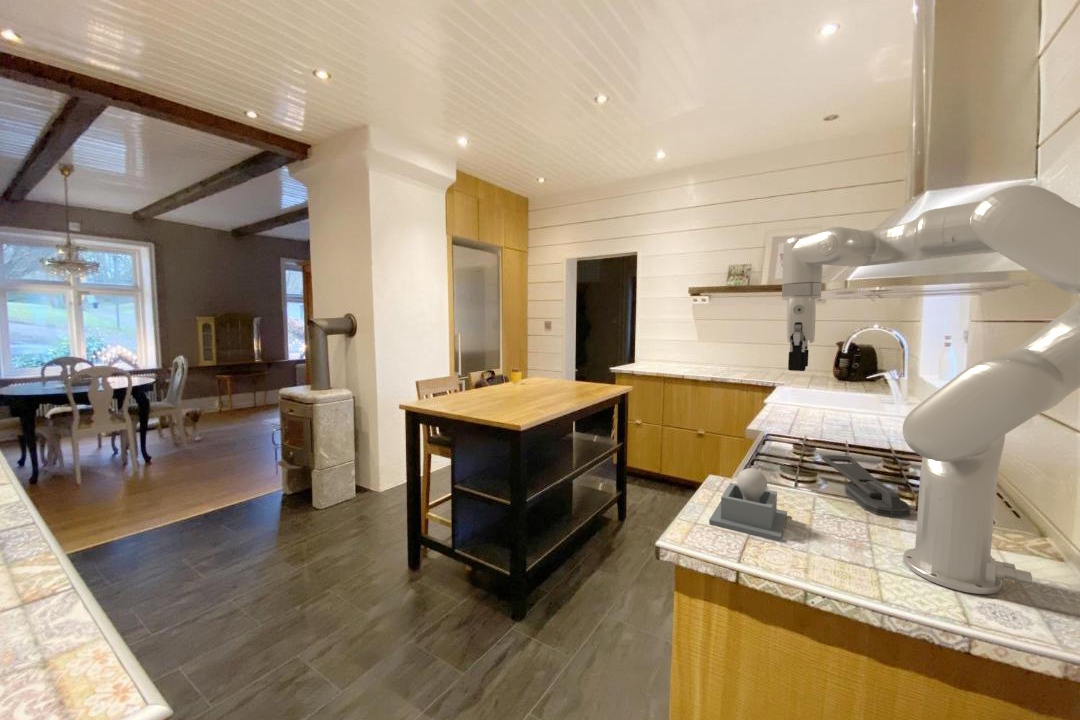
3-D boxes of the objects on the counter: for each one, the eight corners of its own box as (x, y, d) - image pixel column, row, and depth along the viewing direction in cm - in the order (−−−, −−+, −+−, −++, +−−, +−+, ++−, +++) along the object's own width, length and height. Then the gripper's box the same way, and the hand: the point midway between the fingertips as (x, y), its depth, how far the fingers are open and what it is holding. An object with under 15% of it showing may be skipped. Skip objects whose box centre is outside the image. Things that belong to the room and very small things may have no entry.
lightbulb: (752, 524, 93) (753, 475, 92) (730, 512, 98) (731, 466, 97) (772, 518, 95) (773, 471, 94) (749, 507, 101) (750, 462, 100)
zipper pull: (851, 455, 120) (919, 490, 96) (850, 478, 121) (917, 518, 96) (818, 454, 121) (876, 489, 97) (817, 477, 122) (874, 517, 97)
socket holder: (786, 515, 99) (787, 490, 98) (780, 541, 87) (781, 513, 87) (722, 501, 107) (723, 478, 106) (709, 524, 95) (709, 498, 95)
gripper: (820, 289, 86) (816, 373, 87) (822, 293, 100) (819, 365, 102) (777, 291, 90) (775, 371, 92) (785, 294, 104) (783, 364, 106)
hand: (798, 368), depth 97 cm, fingers open, 9 cm apart
